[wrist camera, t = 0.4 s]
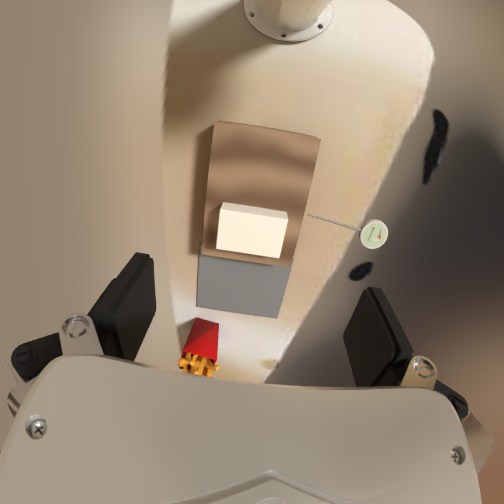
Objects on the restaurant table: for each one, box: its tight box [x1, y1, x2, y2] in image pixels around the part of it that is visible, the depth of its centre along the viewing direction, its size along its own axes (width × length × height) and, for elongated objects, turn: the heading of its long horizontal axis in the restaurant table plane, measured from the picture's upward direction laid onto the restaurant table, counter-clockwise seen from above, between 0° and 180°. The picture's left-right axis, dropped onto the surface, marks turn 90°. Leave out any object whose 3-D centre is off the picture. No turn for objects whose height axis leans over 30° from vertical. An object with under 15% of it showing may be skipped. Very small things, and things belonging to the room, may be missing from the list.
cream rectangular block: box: [216, 202, 288, 258], centre depth 38 cm, size 6×9×3 cm, turn 81°
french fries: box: [178, 317, 220, 377], centre depth 49 cm, size 9×8×15 cm
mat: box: [197, 244, 294, 318], centre depth 49 cm, size 14×16×1 cm
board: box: [202, 121, 321, 268], centre depth 39 cm, size 20×14×4 cm
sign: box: [308, 214, 388, 249], centre depth 43 cm, size 5×1×15 cm
